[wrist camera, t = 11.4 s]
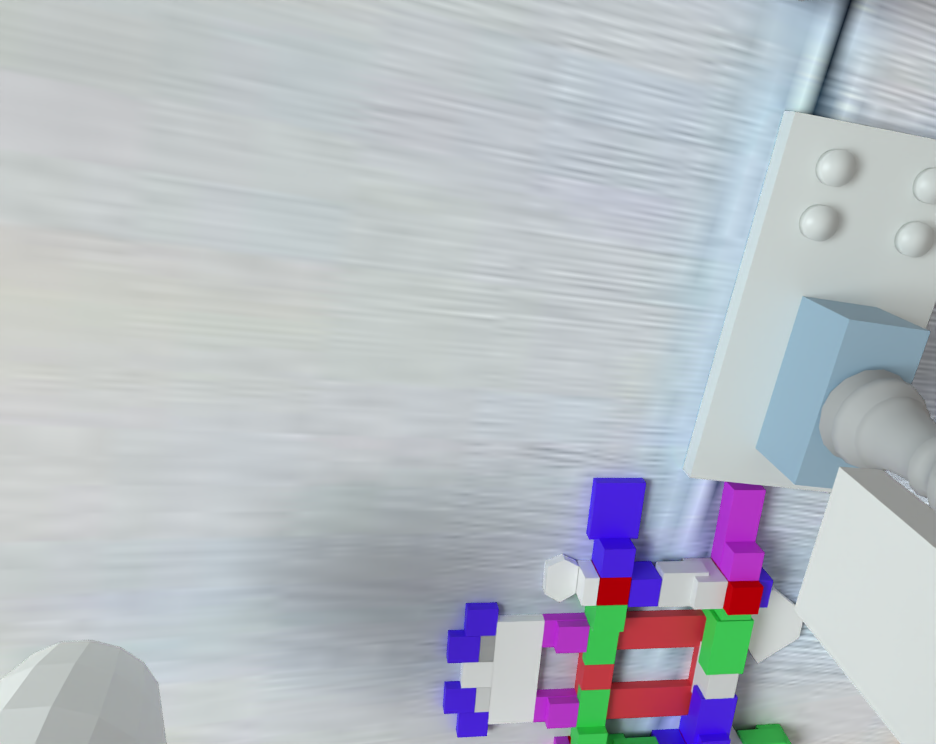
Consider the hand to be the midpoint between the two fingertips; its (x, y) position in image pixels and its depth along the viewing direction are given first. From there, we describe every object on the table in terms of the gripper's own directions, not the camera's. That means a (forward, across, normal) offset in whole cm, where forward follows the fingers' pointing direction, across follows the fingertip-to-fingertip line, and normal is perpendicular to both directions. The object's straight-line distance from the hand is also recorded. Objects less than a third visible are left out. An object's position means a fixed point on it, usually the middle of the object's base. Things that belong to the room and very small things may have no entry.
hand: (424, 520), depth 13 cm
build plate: (+26, +22, -3) cm, 34 cm away
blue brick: (+25, +22, -6) cm, 34 cm away
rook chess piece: (+21, +22, -6) cm, 31 cm away
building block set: (+26, +16, -25) cm, 40 cm away
